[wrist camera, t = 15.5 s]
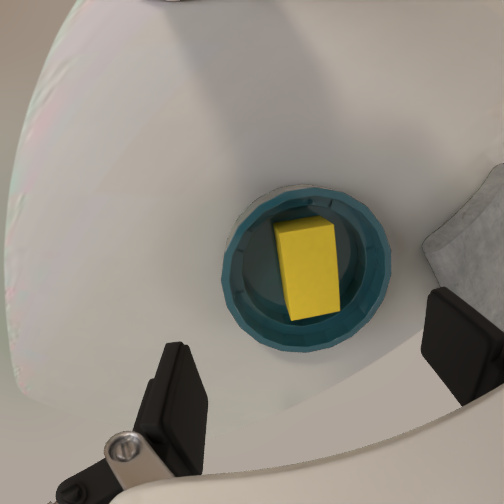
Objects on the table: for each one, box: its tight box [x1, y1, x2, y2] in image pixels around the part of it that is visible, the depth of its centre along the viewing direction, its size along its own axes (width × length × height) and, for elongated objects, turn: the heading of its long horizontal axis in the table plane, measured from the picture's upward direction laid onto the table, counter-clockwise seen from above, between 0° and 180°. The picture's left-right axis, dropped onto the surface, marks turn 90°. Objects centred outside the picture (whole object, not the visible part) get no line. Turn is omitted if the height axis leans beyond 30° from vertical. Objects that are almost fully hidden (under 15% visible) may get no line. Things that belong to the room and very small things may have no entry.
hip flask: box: [422, 163, 504, 332], centre depth 25 cm, size 16×4×20 cm
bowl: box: [221, 184, 391, 353], centre depth 24 cm, size 13×13×4 cm
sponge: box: [273, 215, 340, 321], centre depth 23 cm, size 7×4×4 cm, turn 10°
